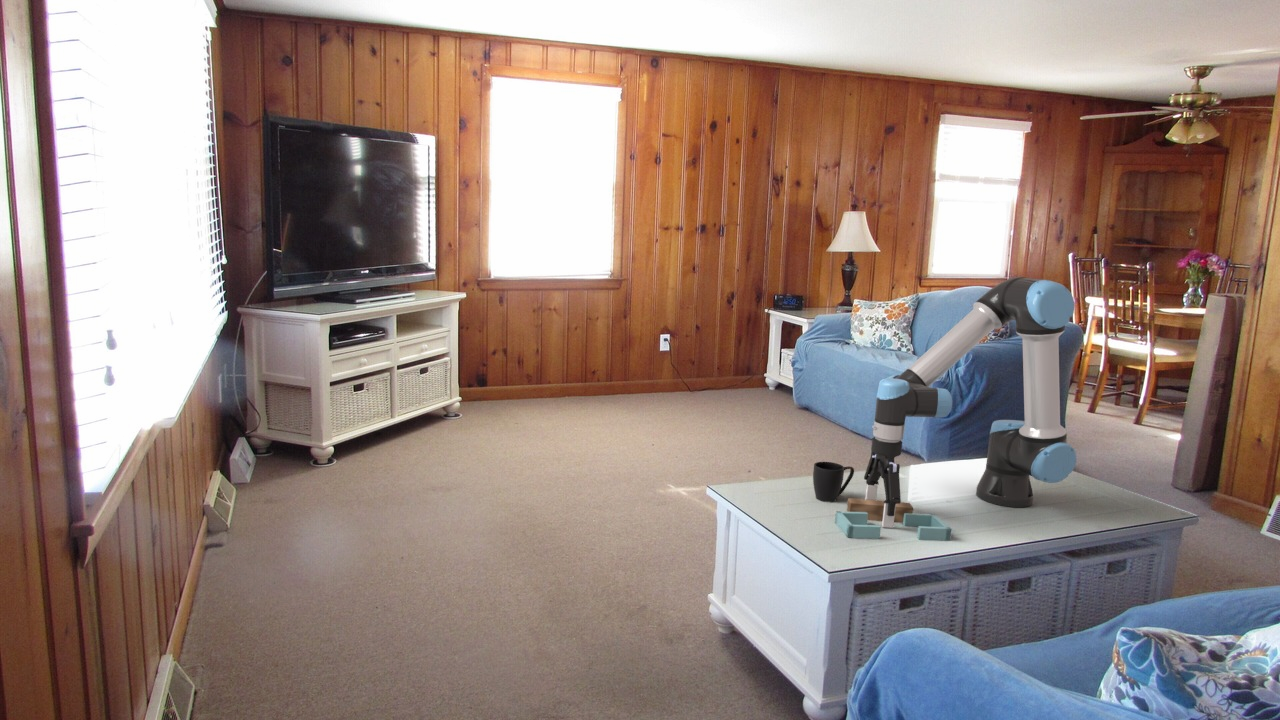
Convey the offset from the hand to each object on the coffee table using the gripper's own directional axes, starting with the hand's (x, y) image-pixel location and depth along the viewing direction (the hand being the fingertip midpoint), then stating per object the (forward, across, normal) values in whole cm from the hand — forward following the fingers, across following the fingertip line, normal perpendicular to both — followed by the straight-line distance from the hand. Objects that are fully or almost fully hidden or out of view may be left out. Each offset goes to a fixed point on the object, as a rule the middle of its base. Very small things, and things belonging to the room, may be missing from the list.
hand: (878, 517), depth 225 cm
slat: (+1, 0, 0) cm, 1 cm away
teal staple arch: (0, +9, +9) cm, 13 cm away
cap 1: (0, +9, -9) cm, 13 cm away
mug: (0, -15, -8) cm, 17 cm away
